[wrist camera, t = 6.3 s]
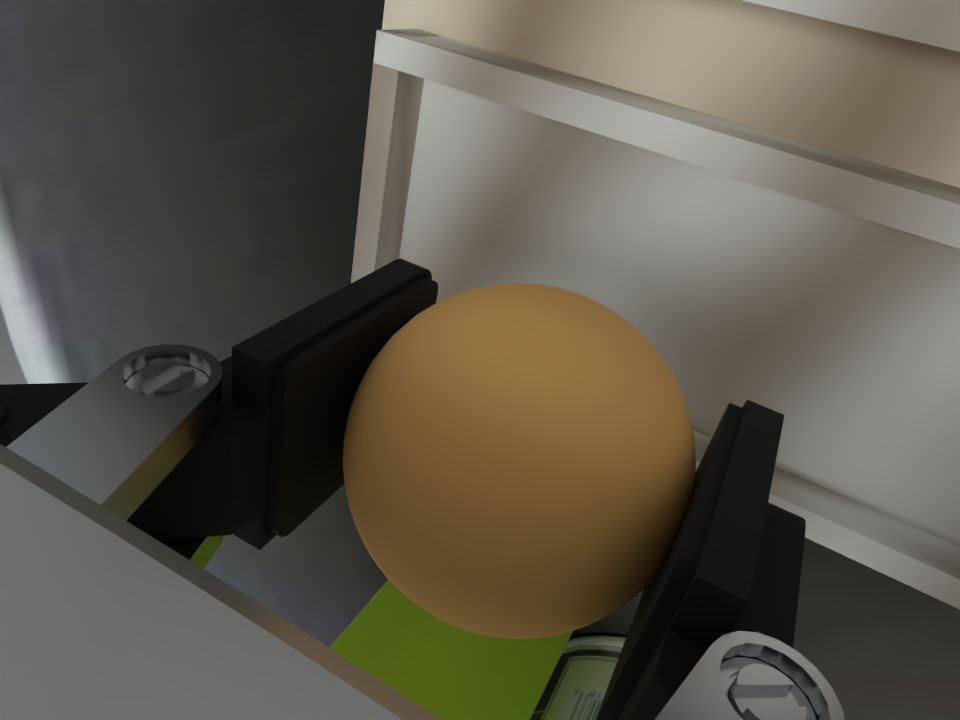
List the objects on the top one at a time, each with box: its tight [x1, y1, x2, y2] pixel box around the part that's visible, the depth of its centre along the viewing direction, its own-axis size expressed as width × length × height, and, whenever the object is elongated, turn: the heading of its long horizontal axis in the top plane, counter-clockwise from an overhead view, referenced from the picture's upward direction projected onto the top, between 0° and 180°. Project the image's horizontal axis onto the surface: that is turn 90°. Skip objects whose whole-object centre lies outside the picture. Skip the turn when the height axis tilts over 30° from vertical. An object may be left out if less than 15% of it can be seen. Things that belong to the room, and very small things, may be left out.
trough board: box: [351, 0, 960, 609], centre depth 13 cm, size 24×19×3 cm
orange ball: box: [343, 283, 696, 639], centre depth 10 cm, size 5×5×5 cm
